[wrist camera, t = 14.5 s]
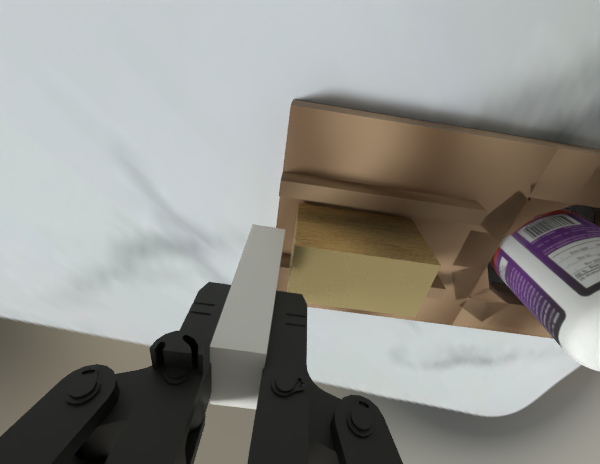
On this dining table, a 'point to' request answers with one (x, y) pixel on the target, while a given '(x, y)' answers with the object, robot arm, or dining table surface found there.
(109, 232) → the dining table surface
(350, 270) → the bar
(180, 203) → the dining table surface
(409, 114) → the dining table surface
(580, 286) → the pill bottle
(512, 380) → the dining table surface
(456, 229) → the dock plate
